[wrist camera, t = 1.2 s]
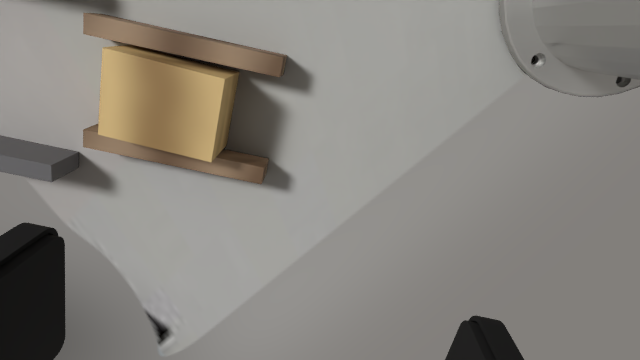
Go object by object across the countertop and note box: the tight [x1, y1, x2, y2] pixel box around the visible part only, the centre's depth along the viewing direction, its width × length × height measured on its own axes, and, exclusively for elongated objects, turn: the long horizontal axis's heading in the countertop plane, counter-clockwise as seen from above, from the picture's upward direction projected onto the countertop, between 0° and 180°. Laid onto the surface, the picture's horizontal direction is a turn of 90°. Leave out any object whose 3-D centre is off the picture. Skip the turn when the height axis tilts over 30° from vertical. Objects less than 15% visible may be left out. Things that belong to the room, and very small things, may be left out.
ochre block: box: [98, 45, 239, 162], centre depth 26 cm, size 7×5×4 cm
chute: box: [83, 13, 287, 184], centre depth 26 cm, size 12×8×2 cm
